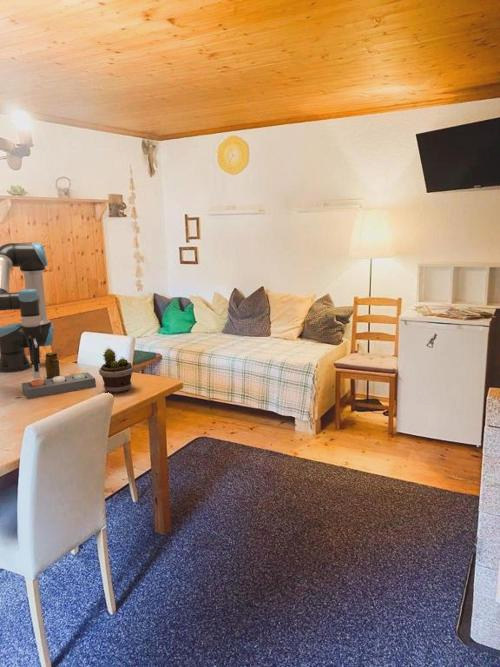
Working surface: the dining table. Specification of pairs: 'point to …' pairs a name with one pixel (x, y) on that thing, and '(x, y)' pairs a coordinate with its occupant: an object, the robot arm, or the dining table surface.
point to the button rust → (37, 383)
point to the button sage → (79, 376)
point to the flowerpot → (116, 373)
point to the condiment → (52, 365)
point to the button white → (58, 379)
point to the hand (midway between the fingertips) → (36, 378)
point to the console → (58, 386)
